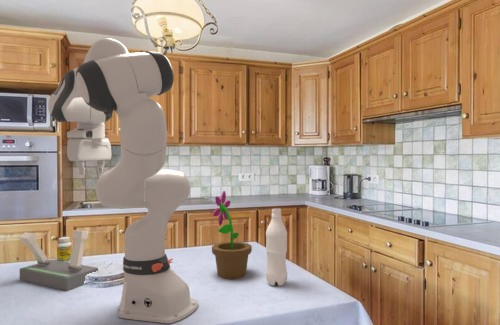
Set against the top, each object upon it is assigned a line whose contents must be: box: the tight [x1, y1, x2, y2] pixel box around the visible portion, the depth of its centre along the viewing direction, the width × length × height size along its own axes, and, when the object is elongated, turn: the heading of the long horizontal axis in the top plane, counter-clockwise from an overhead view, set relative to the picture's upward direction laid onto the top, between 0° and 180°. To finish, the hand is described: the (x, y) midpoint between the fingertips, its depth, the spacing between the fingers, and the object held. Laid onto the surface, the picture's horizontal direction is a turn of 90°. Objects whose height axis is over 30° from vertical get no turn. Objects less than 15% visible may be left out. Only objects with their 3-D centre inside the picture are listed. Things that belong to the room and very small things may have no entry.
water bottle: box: [265, 208, 288, 287], centre depth 119 cm, size 7×7×25 cm
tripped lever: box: [68, 229, 90, 271], centre depth 121 cm, size 4×3×13 cm, turn 65°
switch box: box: [19, 259, 99, 292], centre depth 124 cm, size 24×12×4 cm, turn 65°
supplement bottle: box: [56, 236, 73, 263], centre depth 146 cm, size 5×5×10 cm
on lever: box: [18, 231, 51, 265], centre depth 124 cm, size 4×3×13 cm, turn 65°
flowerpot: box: [211, 190, 253, 280], centre depth 129 cm, size 14×14×30 cm
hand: (91, 173), depth 124 cm, fingers open, 8 cm apart
